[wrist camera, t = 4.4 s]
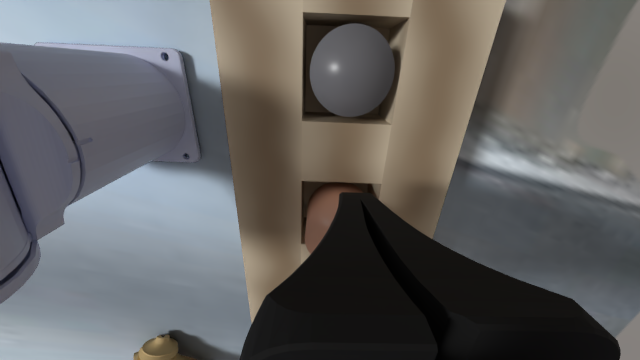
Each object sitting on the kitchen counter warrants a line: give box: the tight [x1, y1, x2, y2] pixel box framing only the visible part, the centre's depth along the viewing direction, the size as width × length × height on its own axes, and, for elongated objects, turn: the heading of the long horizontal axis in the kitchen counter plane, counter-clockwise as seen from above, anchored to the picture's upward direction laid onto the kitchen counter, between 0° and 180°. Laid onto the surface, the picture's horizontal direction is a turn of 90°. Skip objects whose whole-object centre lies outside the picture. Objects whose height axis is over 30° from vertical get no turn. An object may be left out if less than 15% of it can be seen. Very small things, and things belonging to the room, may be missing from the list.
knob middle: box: [305, 182, 363, 254], centre depth 16 cm, size 4×4×4 cm
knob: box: [310, 23, 395, 117], centre depth 14 cm, size 4×4×4 cm
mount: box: [210, 0, 506, 322], centre depth 18 cm, size 14×28×4 cm, turn 178°
